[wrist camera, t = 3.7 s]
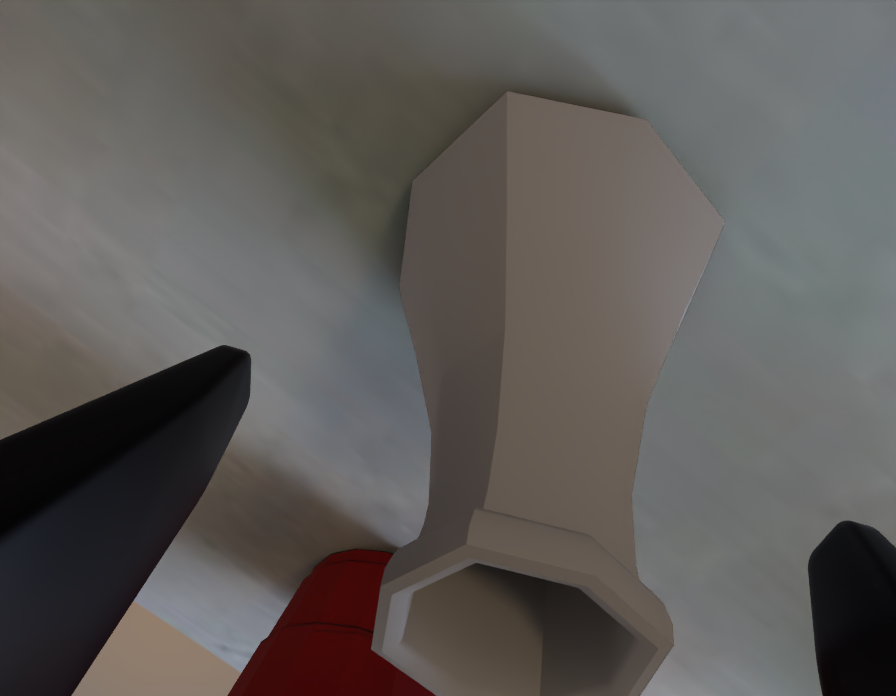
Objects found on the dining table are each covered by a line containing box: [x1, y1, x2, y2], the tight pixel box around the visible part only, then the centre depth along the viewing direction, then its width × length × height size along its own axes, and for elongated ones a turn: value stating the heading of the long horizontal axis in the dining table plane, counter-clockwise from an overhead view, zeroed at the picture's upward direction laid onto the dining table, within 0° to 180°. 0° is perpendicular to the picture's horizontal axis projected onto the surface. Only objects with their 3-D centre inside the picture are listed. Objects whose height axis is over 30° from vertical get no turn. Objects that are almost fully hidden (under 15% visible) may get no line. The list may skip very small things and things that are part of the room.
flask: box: [371, 91, 725, 696], centre depth 11 cm, size 7×7×10 cm
